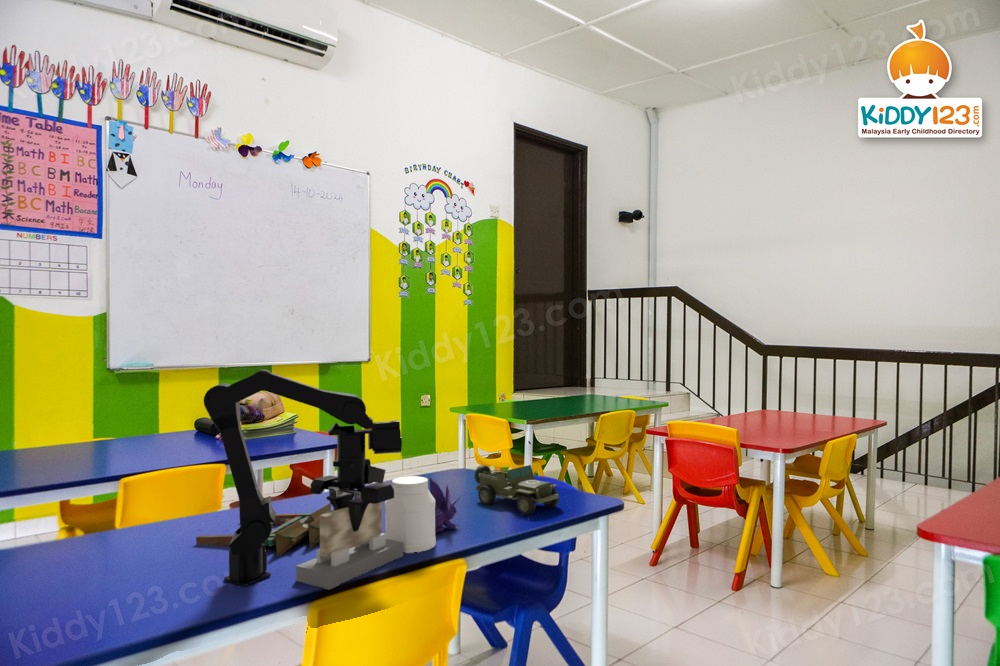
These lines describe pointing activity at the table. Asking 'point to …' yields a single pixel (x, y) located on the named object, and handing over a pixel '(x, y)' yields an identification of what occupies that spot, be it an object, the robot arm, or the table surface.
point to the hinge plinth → (348, 562)
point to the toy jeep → (515, 488)
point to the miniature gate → (281, 531)
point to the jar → (411, 514)
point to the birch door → (348, 529)
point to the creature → (442, 507)
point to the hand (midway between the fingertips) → (351, 530)
